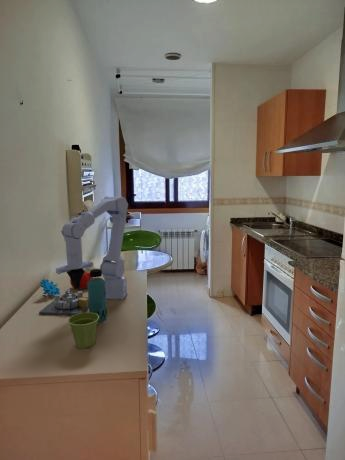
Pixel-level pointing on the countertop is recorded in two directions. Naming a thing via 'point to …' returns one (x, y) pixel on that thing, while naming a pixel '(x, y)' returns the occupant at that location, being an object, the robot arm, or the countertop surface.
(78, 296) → the grey block ring
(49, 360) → the countertop surface
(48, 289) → the gear
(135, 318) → the countertop surface
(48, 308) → the flange plate
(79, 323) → the plant pot
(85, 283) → the tomato
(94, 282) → the beverage bottle
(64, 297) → the housing
